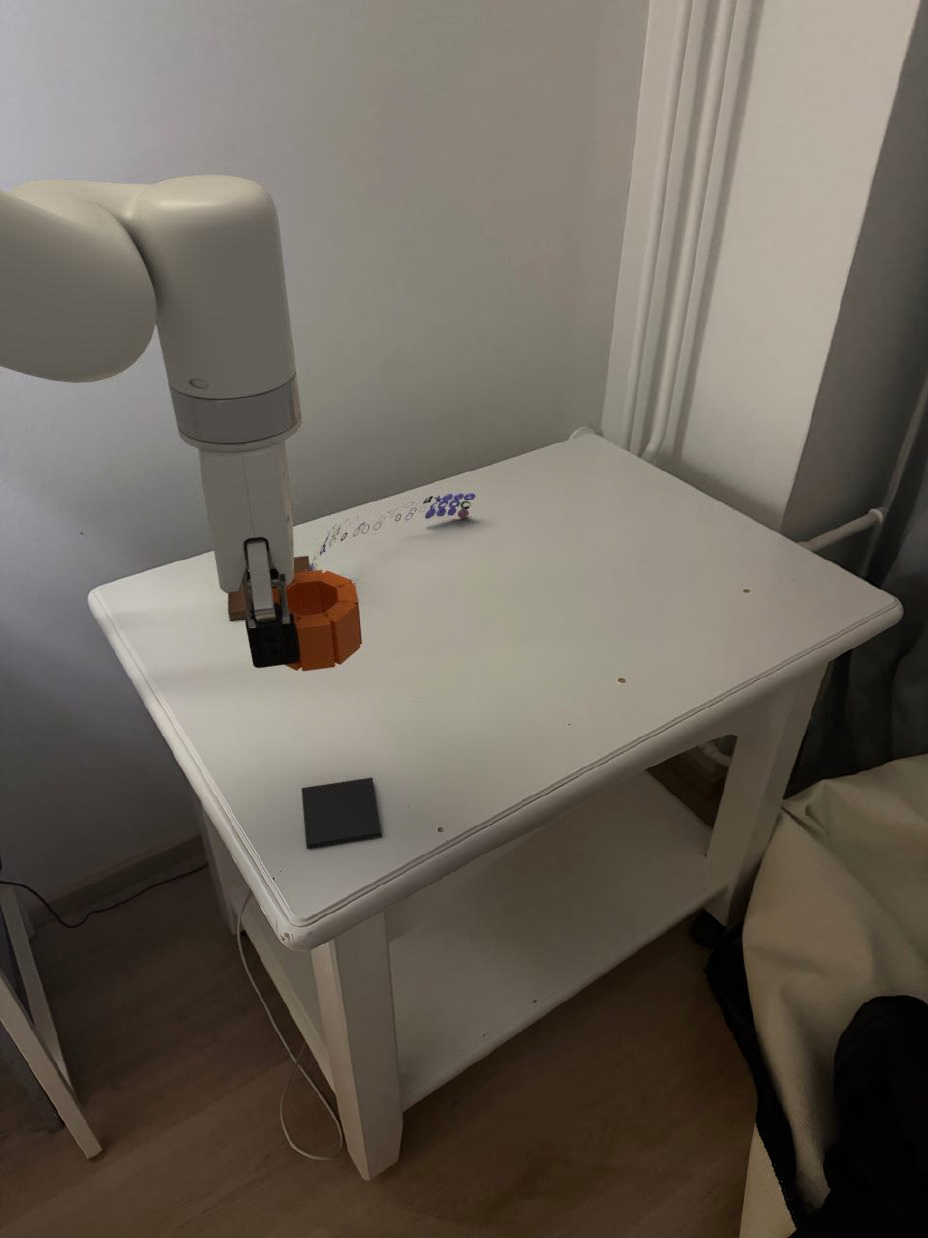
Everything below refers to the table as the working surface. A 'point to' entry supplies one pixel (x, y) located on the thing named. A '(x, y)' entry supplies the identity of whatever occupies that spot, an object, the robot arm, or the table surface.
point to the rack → (237, 598)
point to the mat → (340, 813)
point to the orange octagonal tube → (323, 618)
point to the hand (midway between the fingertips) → (274, 629)
